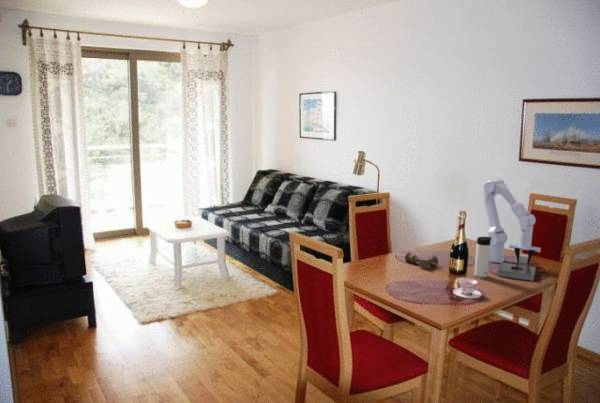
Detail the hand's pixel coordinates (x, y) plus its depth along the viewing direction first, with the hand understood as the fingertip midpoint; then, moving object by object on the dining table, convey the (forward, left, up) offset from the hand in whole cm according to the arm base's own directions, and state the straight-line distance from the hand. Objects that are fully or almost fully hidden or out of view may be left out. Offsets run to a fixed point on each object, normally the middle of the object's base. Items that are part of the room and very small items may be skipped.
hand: (523, 263), depth 253 cm
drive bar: (0, 0, -3) cm, 3 cm away
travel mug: (-17, -24, -3) cm, 30 cm away
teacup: (-19, -51, -3) cm, 54 cm away
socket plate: (-2, -12, -3) cm, 12 cm away
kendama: (-47, -22, -3) cm, 51 cm away
